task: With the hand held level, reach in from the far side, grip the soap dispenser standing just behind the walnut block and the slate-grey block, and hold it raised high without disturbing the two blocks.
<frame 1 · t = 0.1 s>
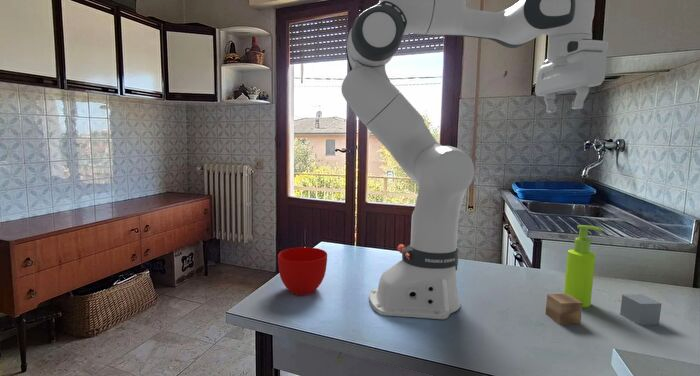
hand: (563, 110, 88), 48 cm above the table, tool pointing down, fingers open, 8 cm apart
soap dispenser: (578, 303, 92), on the table
ceramic cup: (305, 288, 99), on the table
slate-grey block: (638, 319, 84), on the table
walnut block: (562, 319, 84), on the table
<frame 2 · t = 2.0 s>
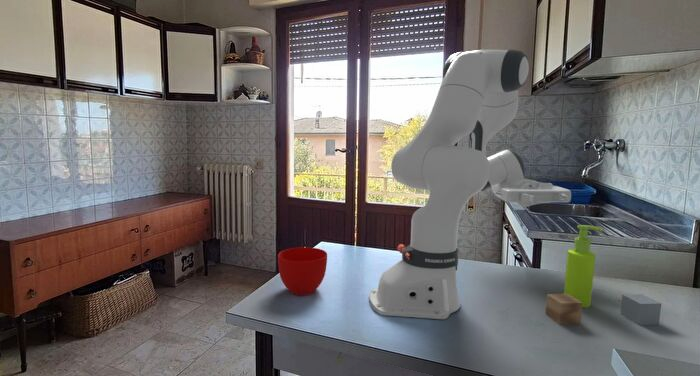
hand: (550, 199, 104), 24 cm above the table, tool horizontal, fingers open, 8 cm apart
nothing on the table moved.
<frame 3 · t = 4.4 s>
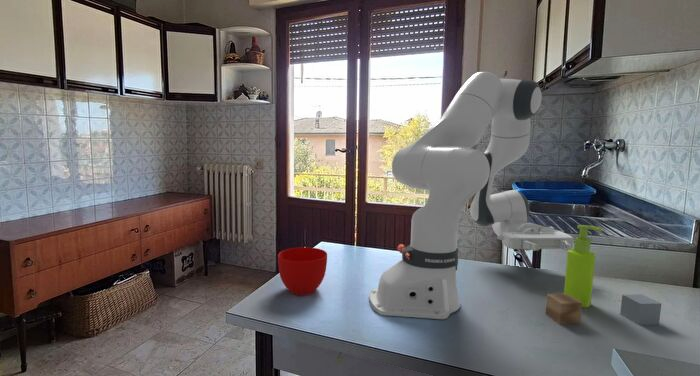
hand: (553, 248, 103), 11 cm above the table, tool horizontal, fingers open, 8 cm apart
nothing on the table moved.
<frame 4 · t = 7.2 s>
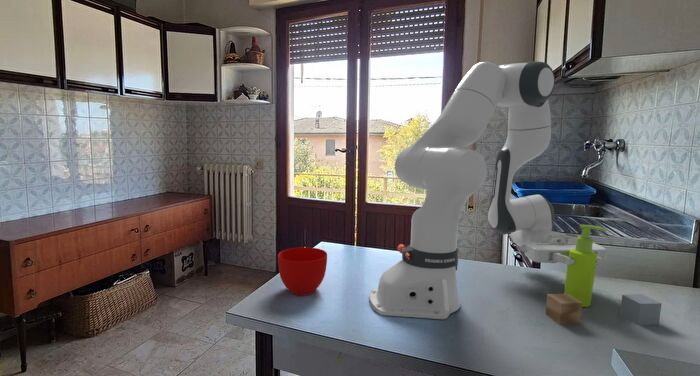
hand: (585, 261, 90), 11 cm above the table, tool horizontal, fingers closed on soap dispenser, 6 cm apart
soap dispenser: (578, 303, 92), on the table, touching gripper
everything else where it was.
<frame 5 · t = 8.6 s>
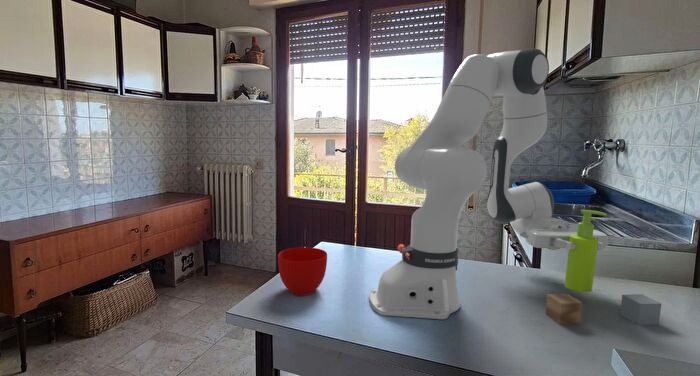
hand: (586, 247, 90), 15 cm above the table, tool horizontal, fingers closed on soap dispenser, 6 cm apart
soap dispenser: (580, 289, 92), point 4 cm above the table, touching gripper
everything else where it was.
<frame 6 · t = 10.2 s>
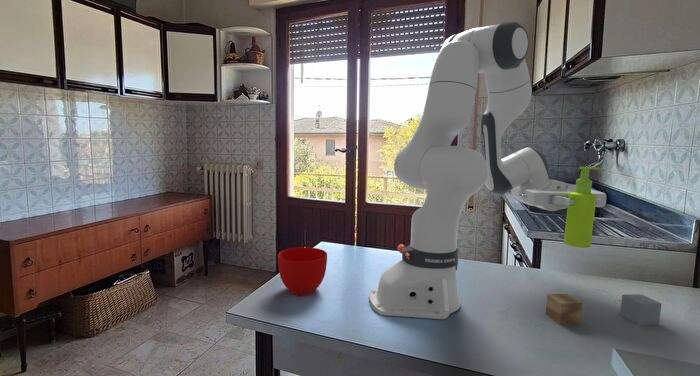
hand: (585, 202, 90), 26 cm above the table, tool horizontal, fingers closed on soap dispenser, 6 cm apart
soap dispenser: (579, 245, 93), point 14 cm above the table, touching gripper
everything else where it was.
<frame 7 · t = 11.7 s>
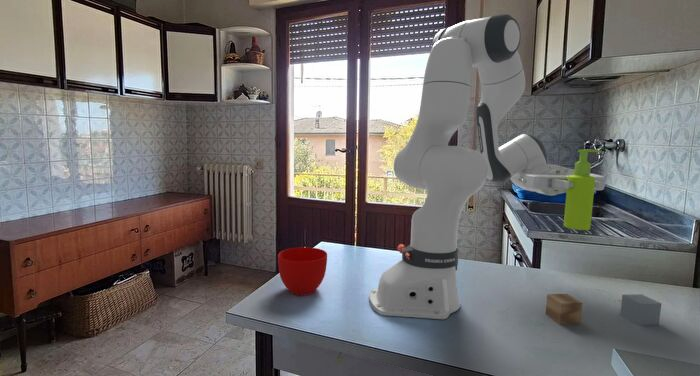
hand: (584, 185, 91), 30 cm above the table, tool horizontal, fingers closed on soap dispenser, 6 cm apart
soap dispenser: (578, 228, 93), point 19 cm above the table, touching gripper
everything else where it was.
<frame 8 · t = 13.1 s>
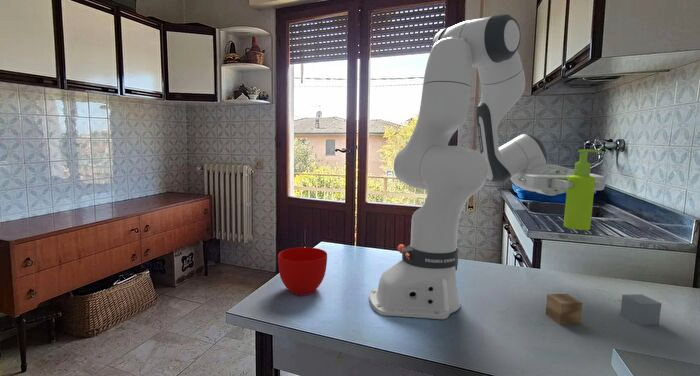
hand: (584, 185, 91), 30 cm above the table, tool horizontal, fingers closed on soap dispenser, 6 cm apart
soap dispenser: (578, 228, 93), point 19 cm above the table, touching gripper
everything else where it was.
at the end: soap dispenser point 18.6 cm above the table; walnut block moved 0.1 cm from its start; slate-grey block moved 0.1 cm from its start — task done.
